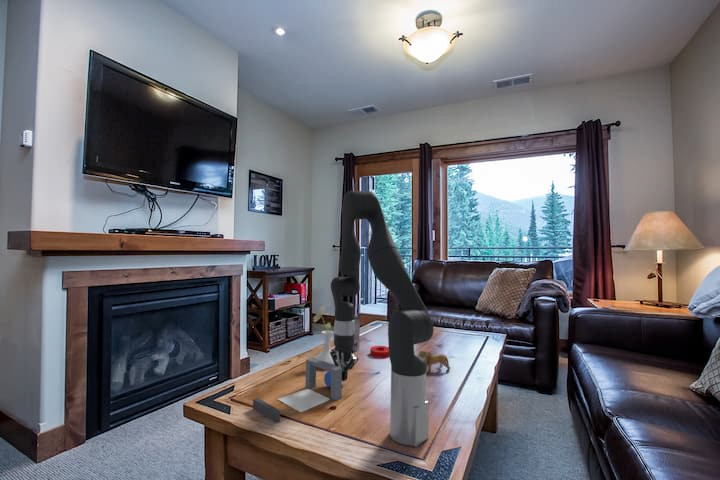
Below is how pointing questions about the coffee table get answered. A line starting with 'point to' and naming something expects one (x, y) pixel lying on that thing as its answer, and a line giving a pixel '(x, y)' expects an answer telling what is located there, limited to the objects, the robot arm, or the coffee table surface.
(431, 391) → the coffee table surface
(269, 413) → the wall
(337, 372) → the gray arch
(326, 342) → the flower in vase
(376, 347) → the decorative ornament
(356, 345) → the coffee box
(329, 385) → the ball
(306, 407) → the white panel
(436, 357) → the lion figurine
